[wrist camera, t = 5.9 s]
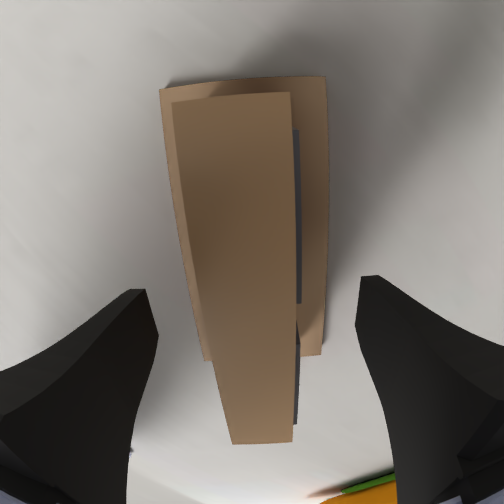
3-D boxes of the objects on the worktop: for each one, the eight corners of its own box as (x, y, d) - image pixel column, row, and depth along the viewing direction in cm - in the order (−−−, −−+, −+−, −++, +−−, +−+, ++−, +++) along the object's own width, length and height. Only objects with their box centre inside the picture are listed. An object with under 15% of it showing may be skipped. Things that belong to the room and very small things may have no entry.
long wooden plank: (235, 379, 16) (232, 444, 12) (200, 103, 10) (170, 102, 6) (290, 377, 15) (296, 441, 12) (282, 96, 10) (299, 91, 6)
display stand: (205, 354, 19) (199, 392, 16) (162, 90, 12) (139, 87, 10) (319, 348, 19) (327, 385, 16) (322, 77, 12) (340, 70, 9)
